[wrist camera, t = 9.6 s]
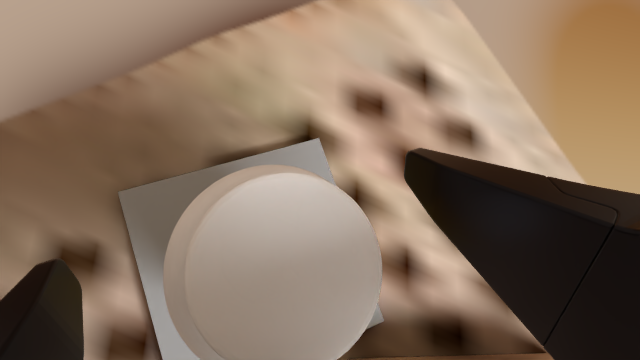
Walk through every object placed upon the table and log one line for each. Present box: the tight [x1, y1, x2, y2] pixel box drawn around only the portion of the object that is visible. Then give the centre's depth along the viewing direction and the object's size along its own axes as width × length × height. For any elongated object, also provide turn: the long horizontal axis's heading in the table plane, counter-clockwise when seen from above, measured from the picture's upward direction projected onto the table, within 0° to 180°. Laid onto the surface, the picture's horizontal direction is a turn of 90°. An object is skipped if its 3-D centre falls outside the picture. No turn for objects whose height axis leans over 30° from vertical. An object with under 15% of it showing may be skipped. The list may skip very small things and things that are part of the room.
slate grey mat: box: [118, 138, 384, 360], centre depth 17 cm, size 10×10×1 cm
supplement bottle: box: [163, 165, 382, 360], centre depth 11 cm, size 6×6×10 cm
